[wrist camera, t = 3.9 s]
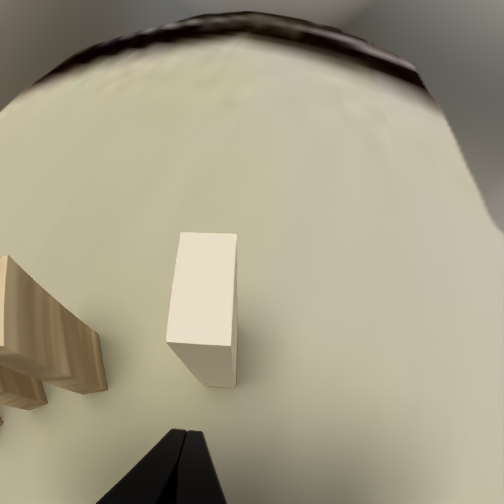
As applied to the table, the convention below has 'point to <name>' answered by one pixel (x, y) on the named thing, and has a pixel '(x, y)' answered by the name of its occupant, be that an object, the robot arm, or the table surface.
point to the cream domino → (205, 307)
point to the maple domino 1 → (20, 390)
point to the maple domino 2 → (45, 335)
